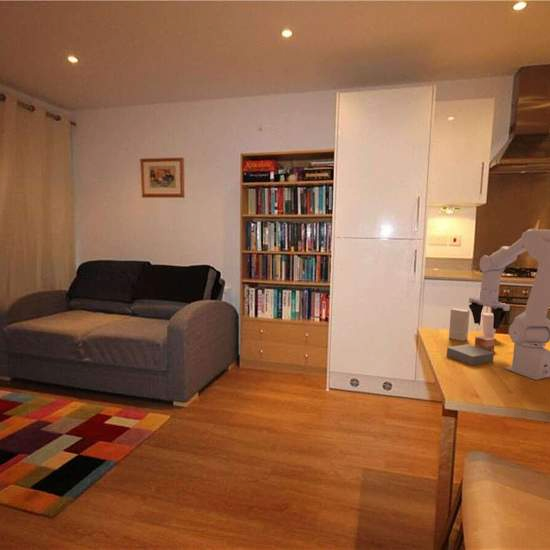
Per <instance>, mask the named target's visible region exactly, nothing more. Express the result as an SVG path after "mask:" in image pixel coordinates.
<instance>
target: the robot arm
mask: <svg viewBox="0 0 550 550" xmlns="http://www.w3.org/2000/svg"><path fill="white" fill-rule="evenodd" d="M525 252H527V253H528V254H529V255H530V257H532V259H533V260H535V261H537V262H538V267H537V271H536V274H535V276H534V279H533V280H534V281H533V283H532V287H531V289H530V294H529V296H528V299H527V302H526V306H525V309H524V311H523V312H522V313H520V314H518V315H517V316H515V317H514V320H513V322H512V323H511V324H510V326H509V328H508V335H509V339H511V341H512V343H514V346H513V356H512V363H511V365H510V366H506V367H505V369H506V370H508V371H510V372H513V373H516V374H517V375H518V374H519V375H522V376H524V377H527V378H529V379H532V380H542V379H546V378H550V350H549V349H548V348H545V347H546V345H547V344H548V343H549V342H550V319H549V318H547V316H548V315H547V314H548V311H549V309H550V229H535V228H529V229H527V230H526V231H525V232H523V233H521V237H520V238H519V239H518V240H516V242H514V243H512V244H511V245H510V246H508V245H507V246H506V245H502V246H500V248H499V249H498V250H496V251H495V252H492V254H490V255H486V254H485V255H483V256H482V257H481V258H480V260H479V269H480V271H481V284H480V294H479V298H478V297H469V298H468V303H469V304H468V307H469V309H470V312H471V315H472V318H473V323H474V324H477V325H478V324H480V323H481V319H482V313H483V309H484V306H485V307H489V308H490V307H492V308H494V309H491V312H492V313H493V317H494V322H493V329H496V330H498V329H500V326H501V324H502V322H503V320H504V318H505V317H506V316H507V314H508V313H509V311H510V309H511V305H510V304H507V303H503V302H500V301H499V295H500V284H501V283H500V282H501V278H502V277H503V273H504V271H505V269H506V266H509V265H510V264H512V263H513V262H515V261H516V260H517V259H518V256H520V255H522V254H523V253H525Z"/></svg>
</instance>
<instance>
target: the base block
mask: <svg viewBox="0 0 550 550" xmlns="http://www.w3.org/2000/svg"><path fill="white" fill-rule="evenodd" d="M446 356H447V357H449V358H451V357H452V359H455V360H457V361H460V362H462V363H465V364H467V365H469V366H477V365H482V364H488V363H493V362H494V356H495V353H494V352H493V351H487V350H484V349H481V348H478V347H475V345H471V344H468V343H465V344H460V345H453V346H447V348H446Z"/></svg>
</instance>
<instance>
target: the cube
mask: <svg viewBox="0 0 550 550" xmlns="http://www.w3.org/2000/svg"><path fill="white" fill-rule="evenodd" d="M474 339H475V340H474V346H475V347H478V348H481V349H484V350H487V351H490V352H493V351H495V345H496V338H495V337H494V338H490V337H487V336H483V335H478V336H475V338H474Z"/></svg>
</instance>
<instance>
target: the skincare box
mask: <svg viewBox="0 0 550 550" xmlns="http://www.w3.org/2000/svg"><path fill="white" fill-rule="evenodd" d="M469 320H470V310H469V309H462V308H456V307H454V308H451V309H450V319H449V331H448V339H449V338H452V339H451V340H455V339H456V340H457V341H460V340H461V342H466V341H467V340H468V336H469V335H468V334H469V323H470V321H469ZM456 340H455V341H456ZM465 340H466V341H465Z"/></svg>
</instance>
